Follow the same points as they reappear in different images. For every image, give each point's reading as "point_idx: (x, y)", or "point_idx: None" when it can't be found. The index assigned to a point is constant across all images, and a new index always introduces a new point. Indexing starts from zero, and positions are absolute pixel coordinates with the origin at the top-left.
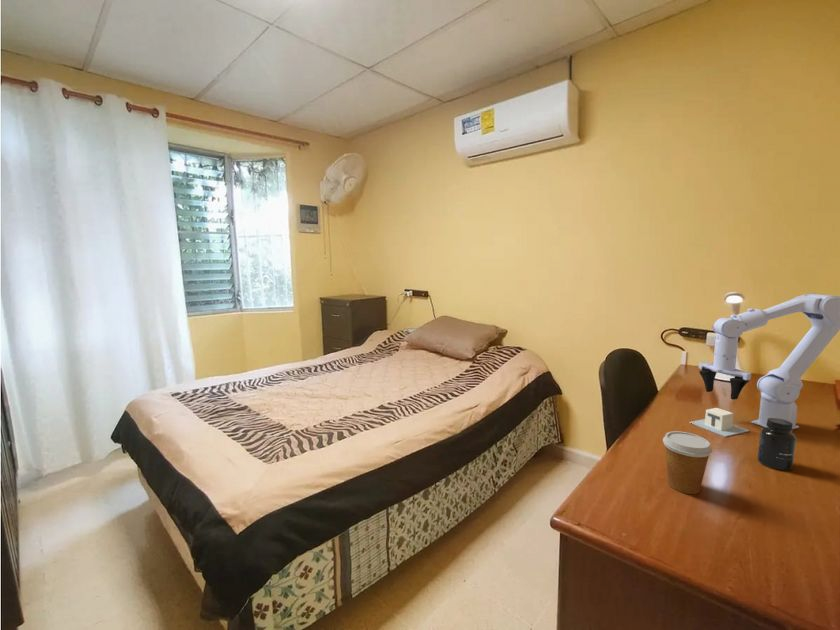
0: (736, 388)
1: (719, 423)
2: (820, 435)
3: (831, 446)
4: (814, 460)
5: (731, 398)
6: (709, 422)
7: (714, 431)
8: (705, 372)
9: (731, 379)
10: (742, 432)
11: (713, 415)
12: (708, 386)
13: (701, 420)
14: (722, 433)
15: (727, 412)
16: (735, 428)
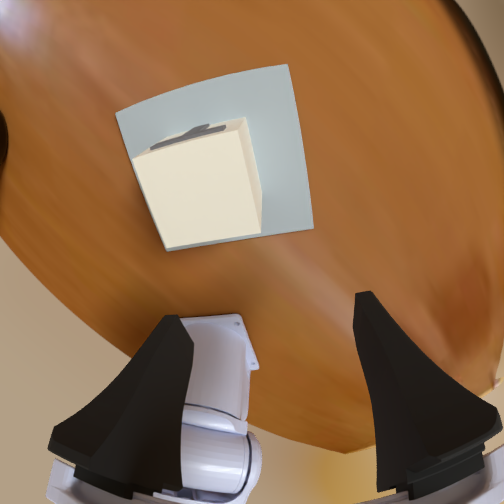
0: (107, 391)
1: (164, 140)
2: None
3: (102, 336)
4: (24, 245)
5: (172, 318)
6: (218, 124)
7: (160, 98)
8: (438, 462)
9: (79, 457)
10: (151, 213)
11: (186, 136)
12: (370, 333)
13: (294, 142)
14: (137, 119)
15: (178, 228)
16: None
